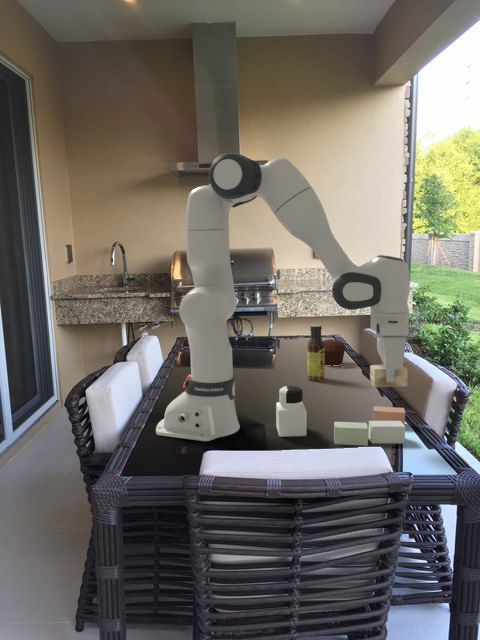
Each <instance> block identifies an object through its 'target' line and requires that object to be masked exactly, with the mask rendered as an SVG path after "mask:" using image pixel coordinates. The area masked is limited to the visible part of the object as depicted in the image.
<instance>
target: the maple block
mask: <svg viewBox="0 0 480 640" xmlns="http://www.w3.org/2000/svg"><path fill="white" fill-rule="evenodd" d="M369 368H370V369H369V383H370V385H371V386H373V388H396V387H397V388H398V387H408V378H409V377H408V373H409V371H408V367H406V366H405V365H404V364H403V366H402V368H401V369H396V370H395V374H394V382H387V381H386V367H385V365H382V364H371V365H370V366H369Z"/></svg>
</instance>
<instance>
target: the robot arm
mask: <svg viewBox="0 0 480 640" xmlns="http://www.w3.org/2000/svg"><path fill="white" fill-rule="evenodd" d="M208 179H209V184H208V185H200V186H198V187H196V188H193V189H192V190H191V191H190V192H189V194H188V197H187V203H186V211H185V240H186V241H185V243H186V244H185V245H186V262H187V265H188V267H189V270H190V272H191V276H192V281H193V286H194V288H193V289H191V290H190V291H188V292H187V293H186V295H185V296H184V297H183V298H182V300H181V301H180V303H179V304H180V305H179V308H178V312H179V313H178V314H179V318H180V319H181V321H182V323H183V325H184V328H185V332H186V337H187V342H188V345H189V346H188V347H189V353H190V355H189V356H190V372H191V373H190V374H188V376H186V379H185V380H184V381H183V382H184V383H183V384H182V385H183V386H182V387H183V389H184V391H183V392H182V393H181V394H179V395H178V396H177V397H176V398H174V399H173V400H172V401H170V403H169V404H168V405H167V407H166V408H165V412H164V418H163V419H161V420H160V421H159V422H158V423H157V425H156V427H155V433H156V434H157V436H162V437H170V438H177V439H185V440H193V441H199V442H200V441H201V442H209V441H210V442H211V441H212V440H215V439H218V438H222V437H227V436H230V435H232V434H235V433H237V432H238V431H239V430H240V423H239V420H238V416H237V411H236V405H235V396H236V383H235V376H234V375H233V373H234V372H233V348H232V345H231V343H230V339H229V334H228V327H227V321H228V320H229V319H230V318H231V317H232V316H233V315H234V313H235V311H236V308H237V304H238V300H237V295H236V290H235V284H234V277H233V276H234V275H233V272H232V271H233V270H232V264H231V255H230V253H231V251H230V249H231V247H230V225H229V221H230V219H229V218H230V217H229V216H230V211H231V209H232V208H237V207H239V206H241V205H244V204H247V203H250V202H252V201H254V200H255V199H257V197H259V198H260V199H262V200H263V201H265V203H266V204H267V205H268V207H269V208H270V210H271V211H272V213H273V215H274V216H275V217H276V218H277V220H278V222H279V223H280V224H281V225H282V227H284V229H285V230H286V231H287V232H288V233H289V234H290V235H292V237H295V238H296V239H298V240H299V241H301V242H303V243H304V244H306V246H308V247H309V248H310V249H312V251H313V252H314V254H316V256H317V258H318V259H319V261H320V262H321V263H322V265H323V266H324V268H325V269H326V270H327V272H328V273H329V275H330V277H331V280H332V288H331V294H332V298H333V300H334V301H335V303H336V304H337V305H338V306H340V307H341V308H343V309H345V310H350V311H354V310H355V311H357V310H361V309H364V308H365V309H366V308H370V330H371V331H373V332H375V337H376V350H377V353H378V355H379V357H380V359H381V363H382V364H381V365H385V367H386V381H387V382H394V374H395V370H396V369H401V368H402V366H403V365H404V361H405V351H406V342H407V341H406V337H408V336H409V330H410V329H409V322H410V319H409V318H410V316H409V315H410V308H409V304H408V301H409V299H408V298H409V296H410V290H411V289H410V286H411V285H410V283H411V282H410V281H411V279H410V270H409V265H408V263H407V262H406V261H405V260H404V259H402V258H400V257H395V256H389V255H382V254H379V255H376V256H375V257H374V258H372V259H370V260H369V261H367V262H365V263H363V264H361V265H359V266H358V265H356V264H355V263H353V262H352V260H351V259H350V258H349V256H348V255H347V253H346V252H345V251H344V249H343V248H342V246H341V244H340V243H339V242H338V240H337V239H336V237H335V235H334V233H333V232H332V230H331V227H330V224H329V221H328V217H327V214H326V212H325V208H324V207H323V204H322V202H321V200H320V198H319V196H318V195H317V193H316V192H315V189H314V188H313V187H312V185H311V184H310V182H309V181H308V180H307V178H306V177H305V176H304V175H303V173H302V172H301V171H300V170H299V168H297V167H296V166H295V165H294V164H293V163H292V162H291V161H290V159H287V158H285V157H276V158H274V159H273V158H272V159H271V160H269V161H267V162H266V163H264V164H262V165H260V163H259V162H257V161H256V160H254V159H251V158H249V157H247V156H245V155H243V154H240V153H236V152H226V153H222V154H221V155H219V156H217V158H215V159H214V160H213V162H212V163H211V165H210V167H209V170H208Z"/></svg>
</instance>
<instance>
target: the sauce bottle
mask: <svg viewBox="0 0 480 640" xmlns="http://www.w3.org/2000/svg"><path fill="white" fill-rule="evenodd" d="M309 327H310V328H309V329H310V339H309V341H308V342H307V353H306V354H307V355H306V356H307V357H306V361H307V362H306V364H307V365H306V366H307V369H306V370H307V373H306V375H307V380H309V381H312V382H320V381H323V380H324V379H325V373H326V371H325V370H326V369H325V367H326V366H325V347H324V344H323V341H324V340H323V339H322V329H323V328H322V325H321V324H311V325H310V326H309Z"/></svg>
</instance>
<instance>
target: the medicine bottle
mask: <svg viewBox="0 0 480 640" xmlns="http://www.w3.org/2000/svg"><path fill="white" fill-rule="evenodd" d="M278 395H279V399H278V400H279V401H277V402H276V404H275V406H276V407H275V410H276V412H275V419H276V421H275V422H276V423H275V424H276V429H277V433H278V437H279V438H281V437H282V438H283V437H284V438H287V437H306V436H307V426H308V425H307V422H308V421H307V417H308V416H307V415H308V413H307V411H308V410H307V409H306V407H305V405H304V403H303V400H304V399H303V396H304V395H303V389H302V388H301V387H299V386H295V385H285V386H282V387H281V388H280V389H279V393H278Z"/></svg>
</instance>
